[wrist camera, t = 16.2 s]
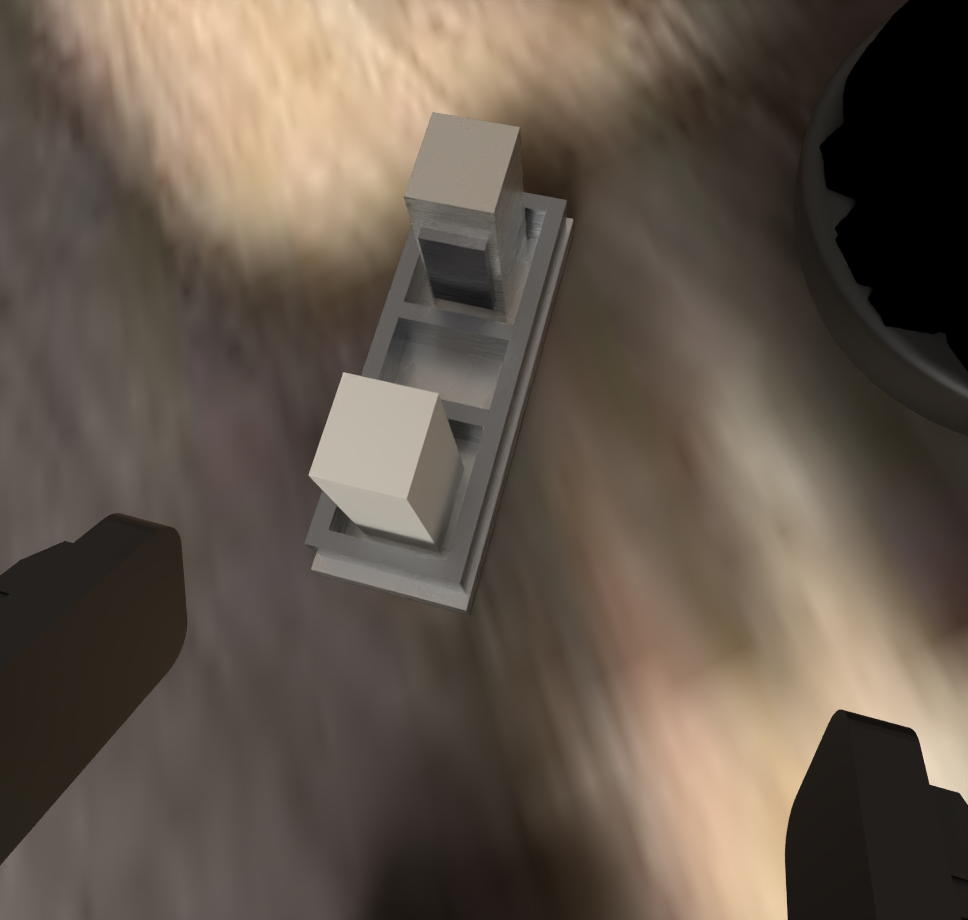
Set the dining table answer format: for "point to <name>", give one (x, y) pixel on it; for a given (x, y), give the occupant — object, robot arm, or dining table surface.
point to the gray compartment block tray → (459, 346)
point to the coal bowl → (895, 208)
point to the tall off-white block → (390, 461)
